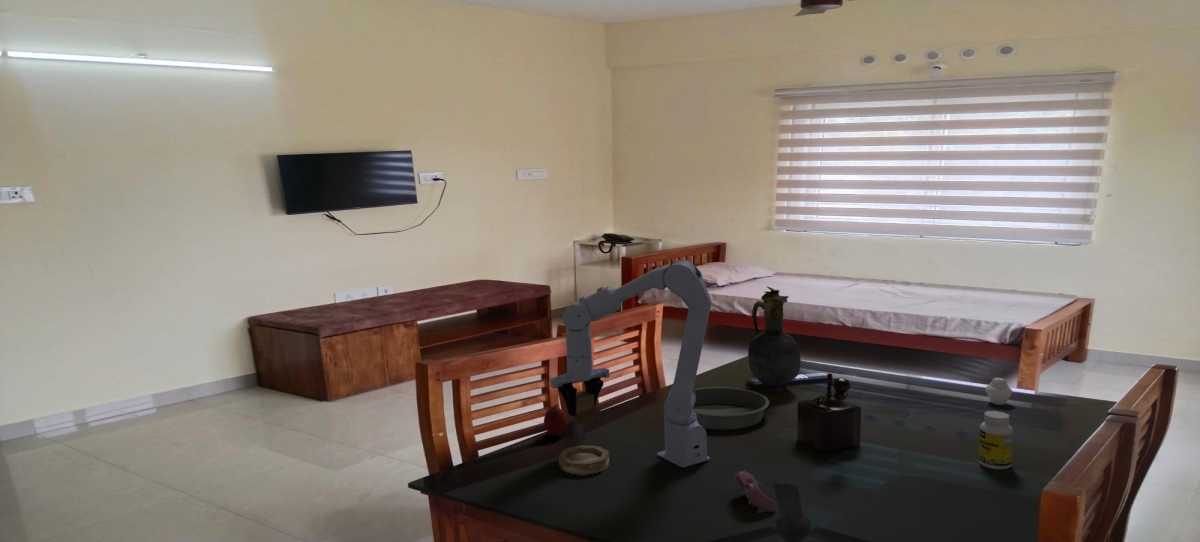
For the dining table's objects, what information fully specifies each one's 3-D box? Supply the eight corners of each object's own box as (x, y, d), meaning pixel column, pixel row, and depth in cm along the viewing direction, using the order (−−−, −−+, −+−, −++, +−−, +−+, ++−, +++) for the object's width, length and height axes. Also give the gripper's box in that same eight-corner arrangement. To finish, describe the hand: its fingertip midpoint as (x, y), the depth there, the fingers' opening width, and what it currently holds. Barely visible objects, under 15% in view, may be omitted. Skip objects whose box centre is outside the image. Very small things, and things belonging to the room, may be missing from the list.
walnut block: (594, 420, 170) (593, 394, 169) (577, 424, 167) (576, 398, 167) (584, 415, 174) (583, 390, 173) (568, 419, 171) (566, 393, 171)
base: (618, 467, 162) (618, 456, 161) (575, 479, 156) (575, 468, 156) (592, 452, 171) (592, 441, 171) (550, 463, 165) (549, 452, 165)
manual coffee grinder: (793, 439, 175) (793, 365, 172) (830, 431, 179) (831, 359, 177) (839, 462, 161) (840, 381, 158) (878, 453, 165) (879, 374, 163)
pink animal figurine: (743, 499, 148) (727, 470, 147) (763, 488, 148) (747, 459, 147) (757, 522, 138) (741, 491, 137) (779, 510, 138) (762, 479, 137)
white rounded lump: (987, 398, 200) (988, 372, 199) (1013, 401, 197) (1014, 376, 196) (983, 404, 195) (984, 378, 195) (1009, 408, 192) (1010, 381, 191)
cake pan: (789, 418, 190) (789, 401, 190) (719, 440, 177) (718, 421, 176) (722, 396, 210) (722, 380, 210) (654, 414, 197) (654, 397, 196)
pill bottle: (971, 462, 158) (973, 412, 157) (992, 457, 161) (994, 407, 159) (997, 472, 153) (999, 421, 151) (1018, 467, 155) (1020, 416, 154)
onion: (564, 440, 179) (563, 408, 178) (541, 439, 180) (540, 407, 179) (570, 432, 185) (569, 401, 184) (548, 431, 186) (546, 400, 185)
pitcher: (772, 398, 206) (771, 292, 202) (738, 381, 224) (737, 283, 220) (805, 393, 209) (806, 288, 205) (769, 376, 227) (769, 280, 223)
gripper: (597, 346, 175) (599, 402, 177) (542, 356, 168) (545, 414, 170) (613, 352, 170) (615, 409, 171) (557, 362, 162) (560, 422, 164)
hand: (581, 412), depth 170 cm, fingers closed on walnut block, 4 cm apart
